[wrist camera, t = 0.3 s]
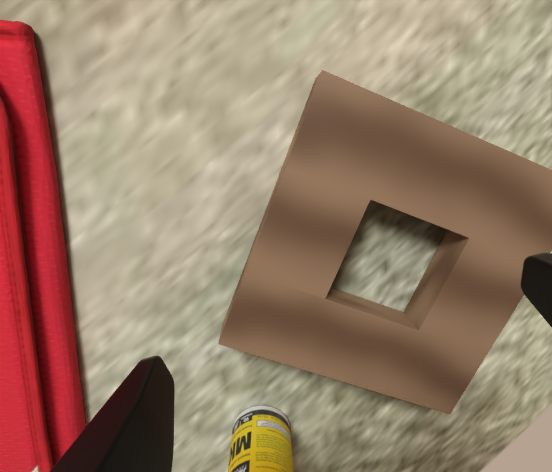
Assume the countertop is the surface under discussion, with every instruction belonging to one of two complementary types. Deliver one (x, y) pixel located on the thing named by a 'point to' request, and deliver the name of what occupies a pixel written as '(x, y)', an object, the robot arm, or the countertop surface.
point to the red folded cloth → (32, 274)
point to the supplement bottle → (261, 442)
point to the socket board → (341, 229)
